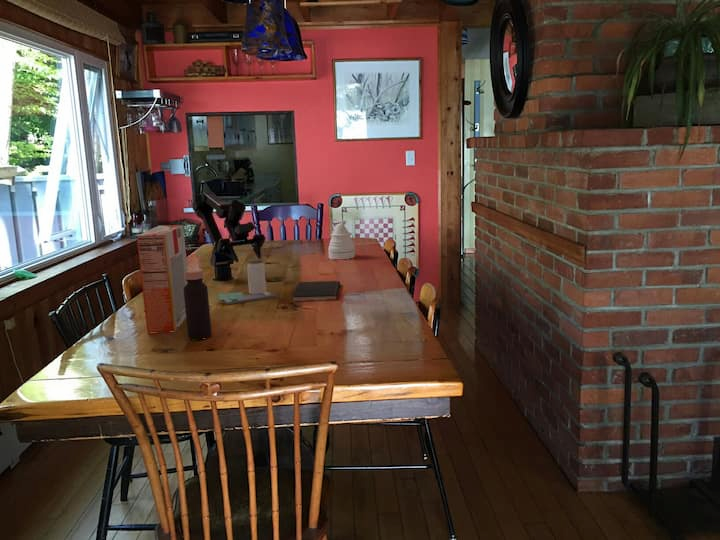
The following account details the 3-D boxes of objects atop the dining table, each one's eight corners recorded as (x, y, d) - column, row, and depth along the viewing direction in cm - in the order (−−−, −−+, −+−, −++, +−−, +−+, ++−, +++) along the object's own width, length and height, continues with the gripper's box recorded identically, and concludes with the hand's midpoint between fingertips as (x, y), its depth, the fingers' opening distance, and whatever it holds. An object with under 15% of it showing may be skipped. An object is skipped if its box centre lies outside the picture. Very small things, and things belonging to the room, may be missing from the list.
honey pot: (360, 256, 296) (358, 219, 292) (345, 260, 285) (343, 223, 281) (338, 254, 303) (336, 218, 299) (323, 258, 292) (321, 222, 288)
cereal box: (168, 313, 205) (158, 225, 199) (191, 311, 205) (183, 224, 199) (147, 333, 183) (136, 236, 176) (174, 332, 183) (164, 234, 177)
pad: (217, 295, 227) (217, 294, 227) (241, 292, 229) (241, 292, 229) (219, 300, 218) (219, 300, 218) (244, 298, 221) (244, 297, 221)
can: (269, 291, 230) (267, 260, 227) (260, 295, 224) (257, 264, 222) (255, 290, 233) (253, 260, 230) (245, 294, 227) (243, 263, 224)
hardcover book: (292, 302, 214) (291, 296, 214) (299, 287, 237) (299, 281, 236) (337, 301, 214) (336, 295, 213) (340, 286, 236) (340, 280, 236)
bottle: (190, 342, 173) (183, 274, 169) (186, 335, 179) (180, 270, 175) (213, 338, 175) (207, 271, 171) (209, 332, 182) (203, 267, 177)
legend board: (227, 304, 213) (227, 300, 213) (223, 300, 218) (223, 297, 218) (276, 297, 221) (275, 293, 221) (271, 293, 226) (270, 290, 226)
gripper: (216, 218, 226) (231, 250, 219) (261, 213, 237) (276, 244, 230) (210, 236, 234) (224, 268, 227) (254, 231, 244) (268, 261, 238)
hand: (249, 260), depth 230 cm, fingers open, 9 cm apart
